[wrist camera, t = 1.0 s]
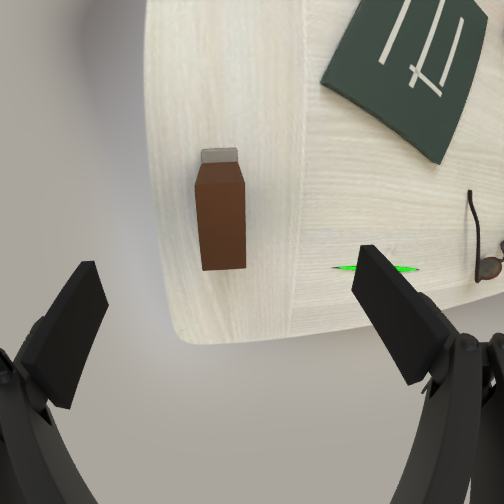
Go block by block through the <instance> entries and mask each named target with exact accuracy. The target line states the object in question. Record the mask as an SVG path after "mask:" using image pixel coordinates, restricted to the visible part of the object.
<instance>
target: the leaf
mask: <svg viewBox="0 0 504 504" xmlns="http://www.w3.org/2000/svg"><path fill="white" fill-rule="evenodd" d="M394 267H395V268H396V269H397V270H398V271H399V272H404V271H414V270H419V269H412V268H405V267H396V266H394ZM334 268H338V269H347V270H356V266H351V267H334Z"/></svg>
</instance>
